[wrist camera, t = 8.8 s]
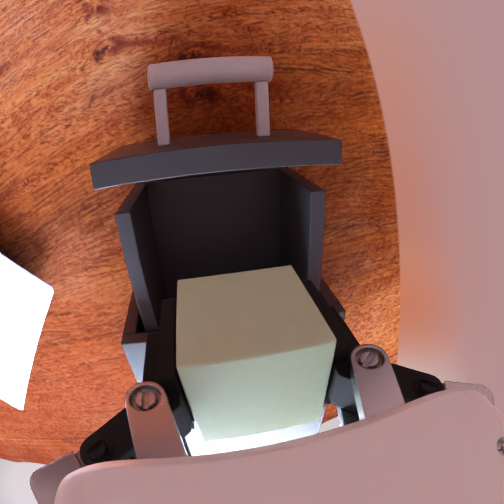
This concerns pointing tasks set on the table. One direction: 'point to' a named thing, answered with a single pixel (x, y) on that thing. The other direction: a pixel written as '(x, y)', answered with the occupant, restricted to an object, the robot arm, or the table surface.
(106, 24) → the table surface
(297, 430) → the cabinet
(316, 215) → the drawer
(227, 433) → the block
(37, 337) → the plate
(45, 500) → the robot arm
